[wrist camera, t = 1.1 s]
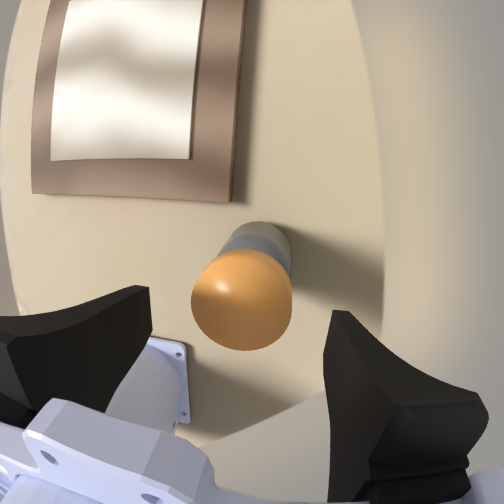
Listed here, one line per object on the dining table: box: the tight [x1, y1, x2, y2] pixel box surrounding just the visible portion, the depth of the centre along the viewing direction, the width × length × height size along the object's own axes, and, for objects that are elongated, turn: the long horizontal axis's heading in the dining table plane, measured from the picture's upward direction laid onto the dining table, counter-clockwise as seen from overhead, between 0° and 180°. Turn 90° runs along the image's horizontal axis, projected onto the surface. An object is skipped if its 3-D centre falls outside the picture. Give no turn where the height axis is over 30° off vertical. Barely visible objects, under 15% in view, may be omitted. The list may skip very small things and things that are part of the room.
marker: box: [191, 222, 292, 351], centre depth 17 cm, size 4×4×8 cm
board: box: [31, 0, 246, 203], centre depth 17 cm, size 18×16×1 cm
